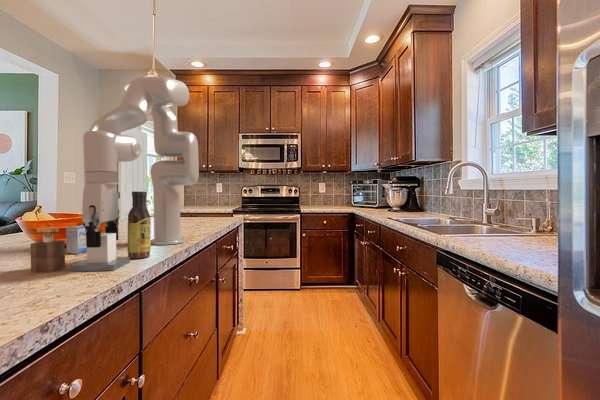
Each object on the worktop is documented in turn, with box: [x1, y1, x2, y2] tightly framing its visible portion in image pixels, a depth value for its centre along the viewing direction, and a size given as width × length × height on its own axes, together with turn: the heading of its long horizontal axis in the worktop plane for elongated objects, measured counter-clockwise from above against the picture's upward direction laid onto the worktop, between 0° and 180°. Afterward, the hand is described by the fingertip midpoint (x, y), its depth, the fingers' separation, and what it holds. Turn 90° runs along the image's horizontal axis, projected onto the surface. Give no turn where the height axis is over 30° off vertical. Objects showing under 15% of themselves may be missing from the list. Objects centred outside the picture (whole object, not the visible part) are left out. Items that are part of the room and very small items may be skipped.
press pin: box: [36, 226, 60, 243], centre depth 83 cm, size 4×4×6 cm
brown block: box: [30, 239, 66, 273], centre depth 84 cm, size 5×5×7 cm
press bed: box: [70, 256, 131, 272], centre depth 87 cm, size 10×10×2 cm
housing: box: [86, 232, 117, 263], centre depth 87 cm, size 5×5×7 cm
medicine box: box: [65, 225, 87, 255], centre depth 108 cm, size 8×4×9 cm, turn 168°
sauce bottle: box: [127, 190, 152, 260], centre depth 99 cm, size 6×6×20 cm
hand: (103, 243), depth 87 cm, fingers open, 9 cm apart
